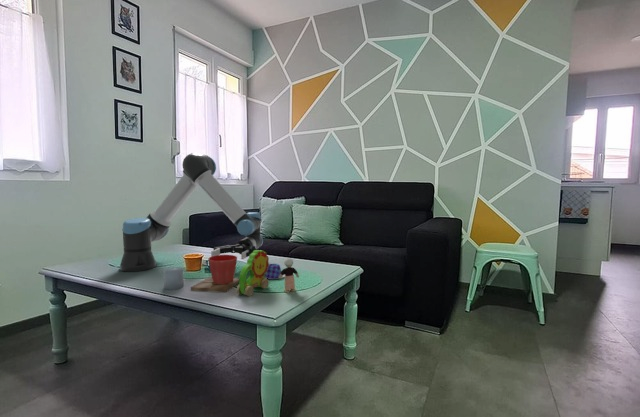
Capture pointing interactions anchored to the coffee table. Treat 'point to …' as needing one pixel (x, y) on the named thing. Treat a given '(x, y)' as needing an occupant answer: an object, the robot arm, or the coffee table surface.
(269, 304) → the coffee table surface
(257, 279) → the toy lion
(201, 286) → the trivet
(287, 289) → the grandmother figurine
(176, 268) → the grey rounded cylinder
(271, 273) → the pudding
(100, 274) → the coffee table surface
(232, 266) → the flower pot
